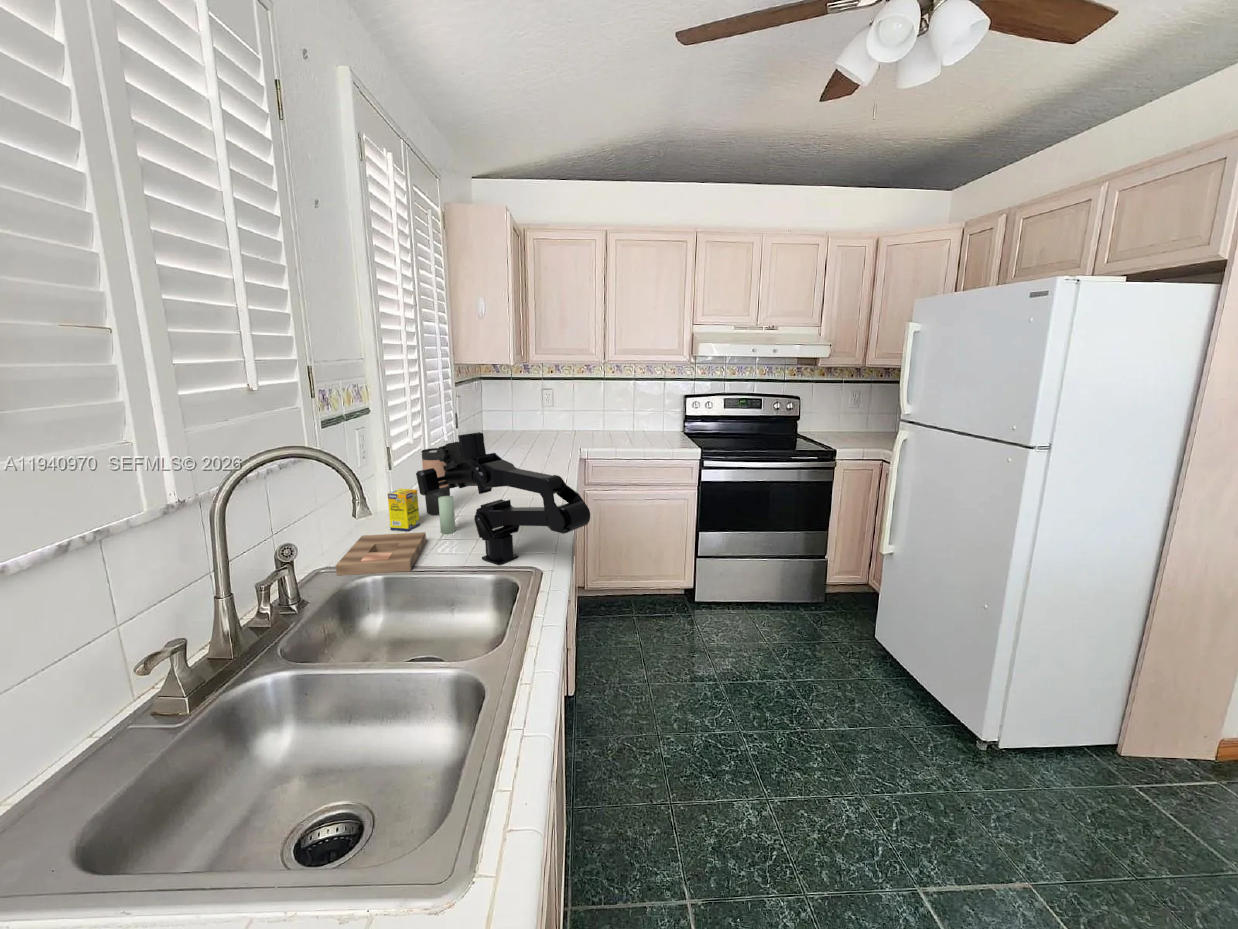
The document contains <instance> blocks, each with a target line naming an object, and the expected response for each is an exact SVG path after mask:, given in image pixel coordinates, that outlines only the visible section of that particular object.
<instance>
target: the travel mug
mask: <svg viewBox="0 0 1238 929" xmlns="http://www.w3.org/2000/svg"><path fill="white" fill-rule="evenodd" d="M438 450H439V447H433V448H432V447H431V448H425V449H422V450H421V462H422V464H421V465H422V470H425V469H430V468H434V469H435V471H436V472H437V477H441V476H445V472H446V471H444V468H443V466H444V465H446V464H445V463H444V462H440V461H439V459H438V457H437V454H436V452H437V451H438ZM444 481H446V480H444ZM440 482H442V481H440ZM439 487H440V489H439V492H437V493H434V494H430V495H424V498H425V507H426V513H428V514H427V515H429V514H430V516H440V515H439V501H438V498H439V497H442V496H451V488H450V489H449V485H448V484H446V485H442V486H439Z"/></svg>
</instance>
